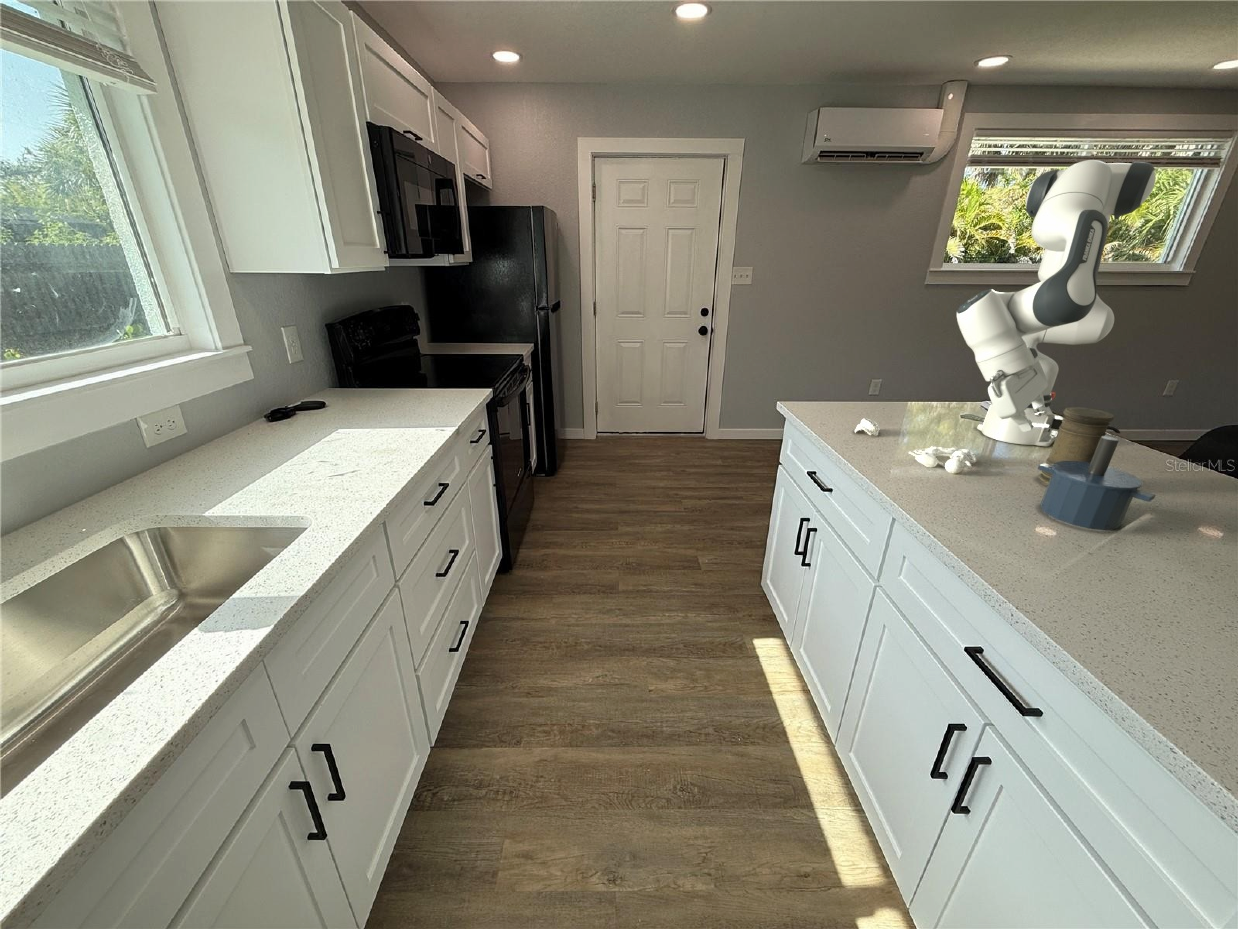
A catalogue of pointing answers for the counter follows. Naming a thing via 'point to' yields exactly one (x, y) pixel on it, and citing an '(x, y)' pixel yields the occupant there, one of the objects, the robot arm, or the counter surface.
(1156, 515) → the counter surface
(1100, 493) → the pot
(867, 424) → the white arched lump
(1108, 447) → the lid
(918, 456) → the tangled rod sculpture
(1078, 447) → the container
